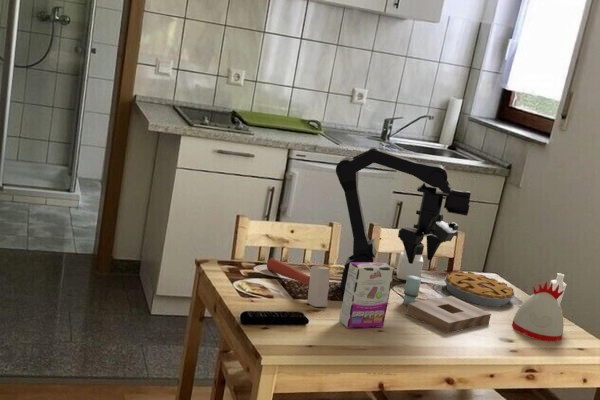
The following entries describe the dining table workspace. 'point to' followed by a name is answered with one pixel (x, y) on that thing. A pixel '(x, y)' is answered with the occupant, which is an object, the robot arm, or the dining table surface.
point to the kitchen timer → (541, 315)
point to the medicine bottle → (407, 268)
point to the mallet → (306, 280)
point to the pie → (478, 289)
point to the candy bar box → (366, 294)
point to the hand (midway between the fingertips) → (420, 261)
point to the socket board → (448, 314)
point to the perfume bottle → (561, 285)
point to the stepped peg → (411, 289)
